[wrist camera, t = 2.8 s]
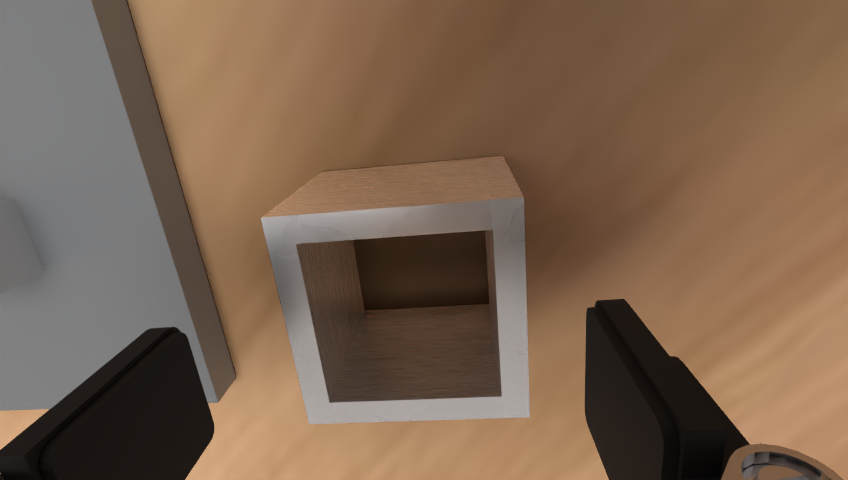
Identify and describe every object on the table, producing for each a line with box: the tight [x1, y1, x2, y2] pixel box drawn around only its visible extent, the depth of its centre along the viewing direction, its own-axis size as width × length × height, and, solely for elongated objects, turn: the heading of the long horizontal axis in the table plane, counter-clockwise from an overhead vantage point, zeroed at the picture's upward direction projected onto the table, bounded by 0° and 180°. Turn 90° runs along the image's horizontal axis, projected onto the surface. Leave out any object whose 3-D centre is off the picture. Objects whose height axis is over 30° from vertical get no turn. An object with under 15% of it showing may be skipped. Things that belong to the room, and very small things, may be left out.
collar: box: [261, 156, 530, 424], centre depth 14 cm, size 6×6×5 cm
